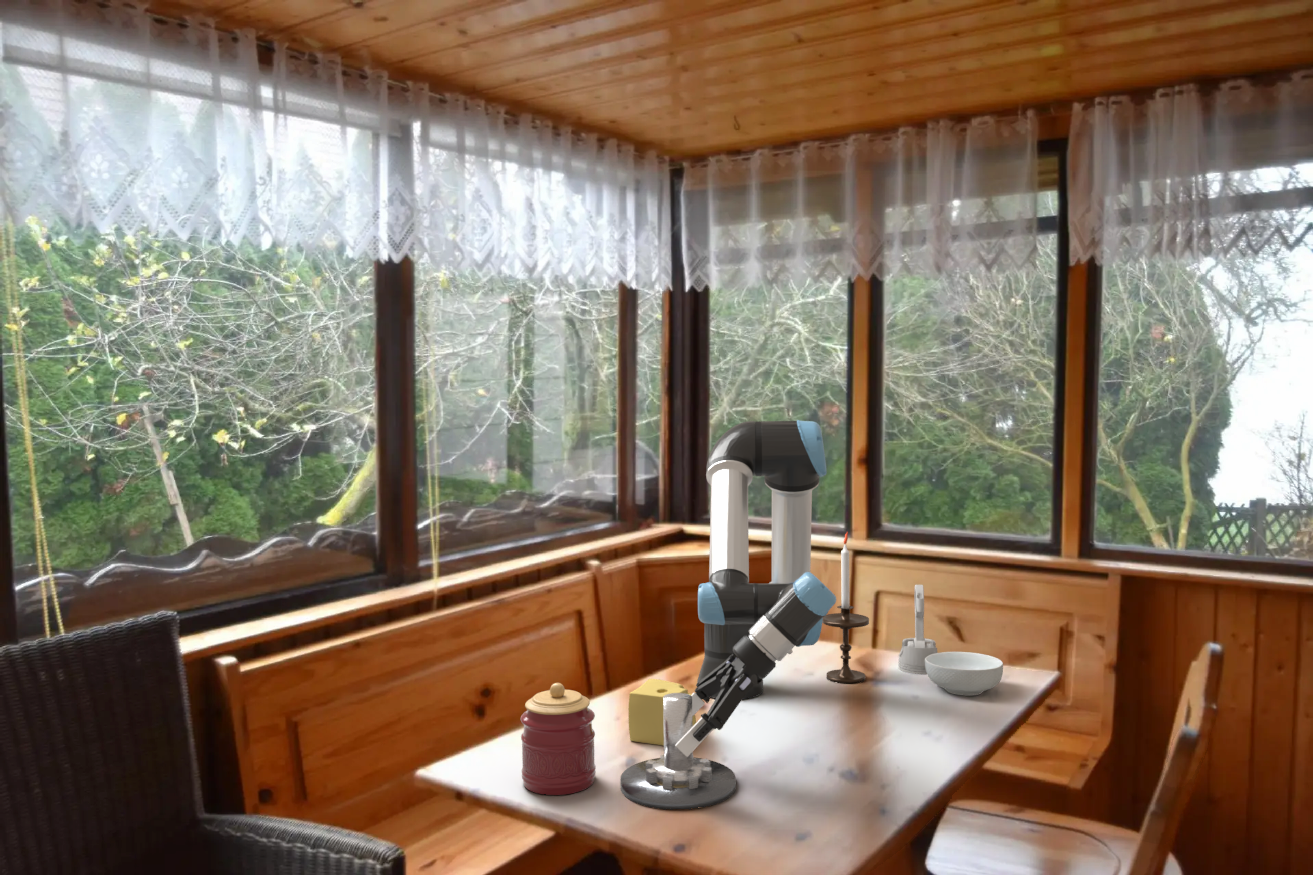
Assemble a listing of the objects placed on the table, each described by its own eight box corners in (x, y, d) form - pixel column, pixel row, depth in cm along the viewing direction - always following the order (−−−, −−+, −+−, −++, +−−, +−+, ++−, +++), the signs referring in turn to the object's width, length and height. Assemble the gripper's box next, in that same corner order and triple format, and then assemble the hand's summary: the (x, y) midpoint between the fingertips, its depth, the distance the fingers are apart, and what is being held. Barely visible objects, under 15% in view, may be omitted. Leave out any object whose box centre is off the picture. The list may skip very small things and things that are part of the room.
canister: (528, 768, 183) (526, 672, 182) (599, 768, 183) (597, 672, 182) (516, 796, 170) (514, 694, 169) (592, 796, 170) (590, 694, 169)
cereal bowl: (1011, 686, 229) (1011, 656, 229) (992, 706, 215) (992, 673, 215) (937, 676, 239) (937, 646, 238) (915, 694, 225) (915, 663, 224)
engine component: (899, 673, 241) (942, 675, 239) (899, 589, 240) (942, 590, 238) (897, 661, 252) (938, 663, 250) (897, 580, 251) (938, 581, 249)
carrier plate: (603, 775, 179) (603, 767, 179) (703, 757, 187) (702, 749, 187) (649, 818, 161) (648, 808, 161) (757, 796, 169) (757, 786, 169)
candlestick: (851, 669, 245) (850, 527, 243) (878, 681, 235) (878, 532, 233) (813, 675, 241) (812, 530, 239) (839, 687, 231) (838, 536, 229)
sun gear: (634, 770, 177) (633, 692, 176) (693, 760, 182) (692, 683, 181) (662, 794, 166) (661, 711, 166) (723, 782, 171) (723, 701, 170)
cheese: (696, 732, 202) (695, 682, 201) (674, 749, 192) (674, 698, 192) (649, 725, 206) (649, 677, 206) (626, 742, 196) (625, 691, 196)
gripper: (791, 683, 162) (701, 778, 161) (765, 644, 187) (686, 727, 186) (758, 652, 161) (667, 747, 161) (736, 617, 186) (657, 700, 186)
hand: (677, 736), depth 174 cm, fingers open, 13 cm apart
